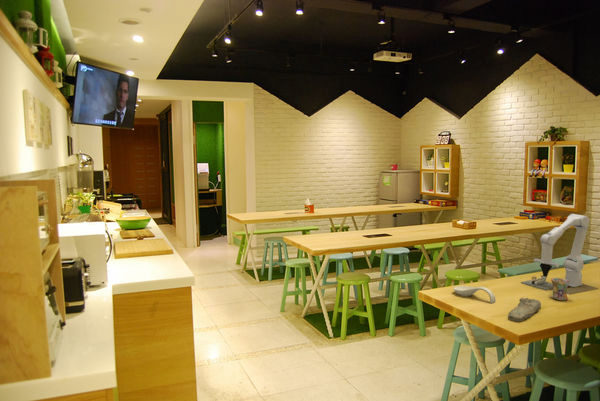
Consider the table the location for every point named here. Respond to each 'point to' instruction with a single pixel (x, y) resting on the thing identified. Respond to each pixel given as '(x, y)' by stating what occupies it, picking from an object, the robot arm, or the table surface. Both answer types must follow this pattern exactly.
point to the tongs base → (534, 280)
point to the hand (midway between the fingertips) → (545, 276)
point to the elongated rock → (524, 309)
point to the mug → (559, 288)
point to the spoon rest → (473, 291)
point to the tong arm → (541, 280)
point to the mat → (540, 285)
